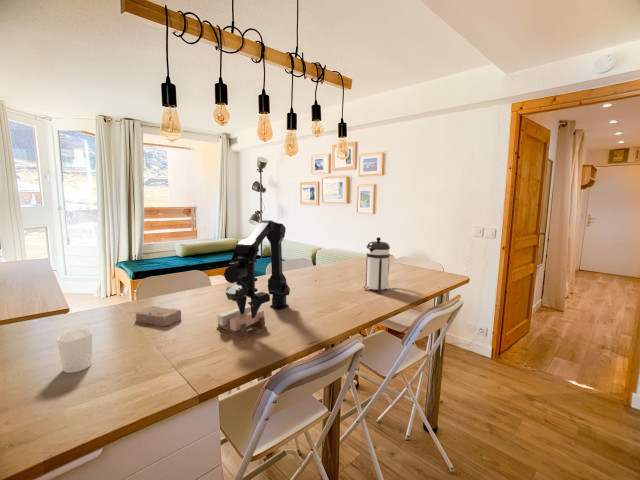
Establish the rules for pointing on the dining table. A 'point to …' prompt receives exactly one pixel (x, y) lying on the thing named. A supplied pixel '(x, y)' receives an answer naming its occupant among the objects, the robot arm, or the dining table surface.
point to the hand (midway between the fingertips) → (247, 316)
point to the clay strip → (245, 320)
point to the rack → (244, 329)
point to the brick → (158, 316)
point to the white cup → (75, 350)
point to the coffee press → (377, 265)
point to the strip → (231, 315)
